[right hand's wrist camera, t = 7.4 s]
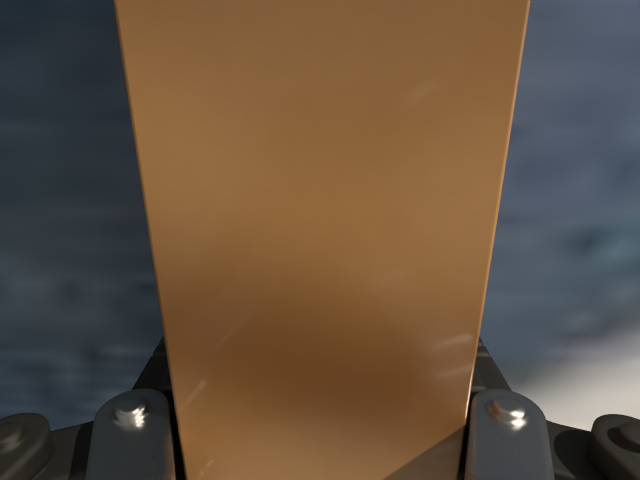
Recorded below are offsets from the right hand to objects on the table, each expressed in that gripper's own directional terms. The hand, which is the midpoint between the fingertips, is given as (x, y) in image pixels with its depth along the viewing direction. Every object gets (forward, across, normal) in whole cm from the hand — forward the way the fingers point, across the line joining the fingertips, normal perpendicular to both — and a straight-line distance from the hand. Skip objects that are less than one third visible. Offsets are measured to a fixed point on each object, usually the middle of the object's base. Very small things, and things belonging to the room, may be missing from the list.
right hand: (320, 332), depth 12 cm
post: (+3, 0, -20) cm, 21 cm away
